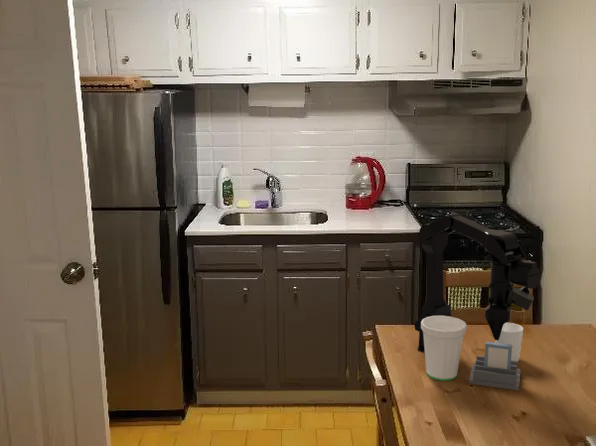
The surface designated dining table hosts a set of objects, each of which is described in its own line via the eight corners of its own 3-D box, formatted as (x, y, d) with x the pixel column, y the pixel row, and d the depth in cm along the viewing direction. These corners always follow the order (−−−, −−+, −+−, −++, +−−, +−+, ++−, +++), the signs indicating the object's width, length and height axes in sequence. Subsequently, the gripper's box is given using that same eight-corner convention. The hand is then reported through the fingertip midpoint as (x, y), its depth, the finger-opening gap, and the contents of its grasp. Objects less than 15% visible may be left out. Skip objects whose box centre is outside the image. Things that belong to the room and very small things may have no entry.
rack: (468, 383, 177) (469, 371, 176) (473, 365, 188) (473, 354, 187) (518, 390, 172) (519, 378, 171) (520, 372, 183) (521, 360, 182)
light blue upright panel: (483, 373, 180) (485, 343, 178) (484, 371, 181) (485, 341, 180) (509, 377, 178) (511, 347, 176) (510, 375, 179) (512, 344, 177)
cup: (427, 361, 191) (429, 312, 187) (469, 370, 184) (472, 320, 181) (412, 377, 180) (414, 326, 177) (456, 388, 174) (459, 334, 171)
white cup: (515, 366, 187) (518, 334, 185) (489, 360, 192) (491, 328, 189) (524, 357, 193) (527, 326, 191) (498, 351, 198) (500, 320, 196)
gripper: (532, 292, 163) (528, 350, 166) (533, 272, 180) (529, 325, 183) (486, 288, 166) (483, 344, 170) (491, 269, 184) (488, 321, 187)
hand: (497, 333), depth 177 cm, fingers open, 9 cm apart
